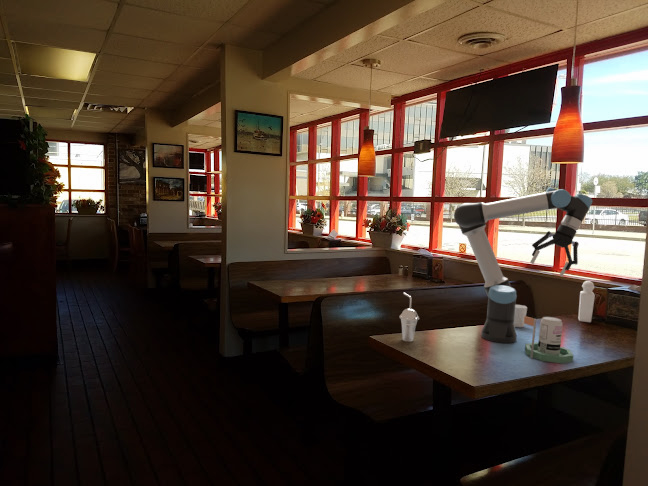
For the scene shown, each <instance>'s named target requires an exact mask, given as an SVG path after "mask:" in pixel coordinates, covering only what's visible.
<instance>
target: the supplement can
mask: <svg viewBox="0 0 648 486" xmlns="http://www.w3.org/2000/svg"><path fill="white" fill-rule="evenodd" d="M563 326H564V324H563V322H562V319H560V318H557V317H553V316H543V317H542V318H541V320H540V324H539V333H538V342H537V343H538V352H540V353H543V354H550V355H557V356H559V355H560V347H562V345H561V344H562V337H563V336H562V334H563Z"/></svg>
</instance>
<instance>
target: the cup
mask: <svg viewBox="0 0 648 486" xmlns="http://www.w3.org/2000/svg"><path fill="white" fill-rule="evenodd" d="M524 323H525V324H524V325H528V326H531V327H532V328H533V329H532V338H531V339H532V340H531V343H525V347H524V351H525V355H526V356H528V355H529V356H528V357H530V359H532V358H534V359H535V360H539V361H543V362H548V363H556V364H566V363H570V362H571V363H572V362H574V354H573V352H572V351H571V350H570V349H568V348H565V347H563V346H560V355H559V356H557V355H550V354H543V353H540V352H538V342H536V341H535V337H536V328H537V319H536V318H533V317H529V316H527V315H526V316H525V317H524Z"/></svg>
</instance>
